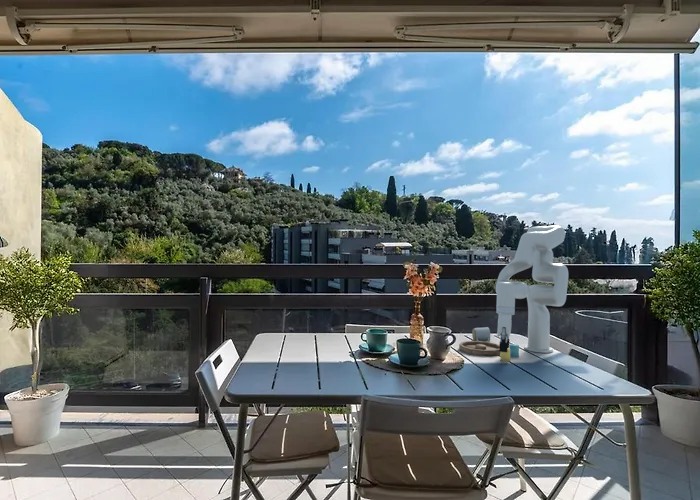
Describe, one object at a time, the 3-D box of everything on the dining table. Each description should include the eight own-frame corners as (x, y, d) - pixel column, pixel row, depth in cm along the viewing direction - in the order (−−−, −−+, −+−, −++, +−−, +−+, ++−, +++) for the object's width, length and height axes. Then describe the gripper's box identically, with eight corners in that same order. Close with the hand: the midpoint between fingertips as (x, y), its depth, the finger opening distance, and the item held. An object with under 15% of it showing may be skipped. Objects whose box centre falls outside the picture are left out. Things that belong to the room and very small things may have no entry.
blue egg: (509, 354, 191) (509, 343, 191) (519, 355, 189) (519, 344, 189) (509, 356, 187) (509, 345, 187) (518, 357, 185) (518, 346, 185)
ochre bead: (500, 358, 183) (500, 347, 183) (510, 360, 181) (510, 348, 181) (499, 361, 179) (500, 349, 179) (509, 362, 178) (509, 350, 178)
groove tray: (463, 344, 210) (463, 339, 210) (504, 348, 202) (504, 343, 202) (456, 352, 193) (456, 347, 193) (500, 358, 184) (500, 352, 184)
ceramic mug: (471, 340, 221) (471, 325, 221) (487, 340, 220) (487, 326, 220) (475, 344, 210) (476, 330, 210) (492, 345, 210) (492, 330, 210)
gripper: (498, 307, 190) (497, 345, 189) (494, 311, 174) (493, 352, 174) (515, 309, 186) (514, 347, 186) (513, 313, 171) (512, 354, 170)
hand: (504, 349), depth 180 cm, fingers open, 9 cm apart
